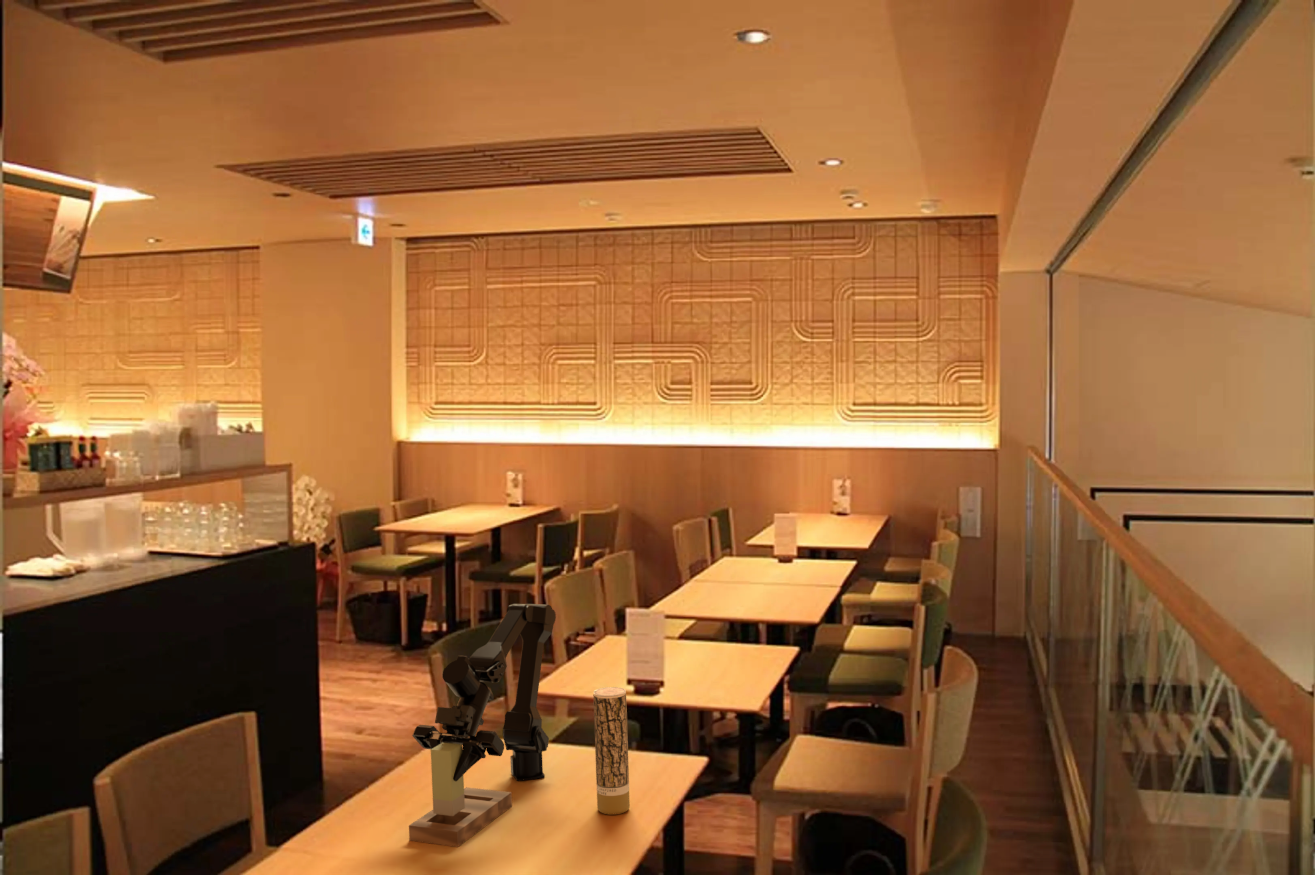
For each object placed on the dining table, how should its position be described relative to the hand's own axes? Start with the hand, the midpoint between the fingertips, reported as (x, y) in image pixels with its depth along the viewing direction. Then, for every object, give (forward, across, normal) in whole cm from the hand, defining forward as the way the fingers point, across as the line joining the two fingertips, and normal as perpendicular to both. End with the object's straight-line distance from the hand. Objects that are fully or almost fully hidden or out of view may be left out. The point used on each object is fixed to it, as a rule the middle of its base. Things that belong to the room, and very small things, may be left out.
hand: (444, 779), depth 222 cm
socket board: (+4, 0, +12) cm, 13 cm away
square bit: (+4, 0, +6) cm, 7 cm away
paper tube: (-7, +27, +23) cm, 36 cm away
